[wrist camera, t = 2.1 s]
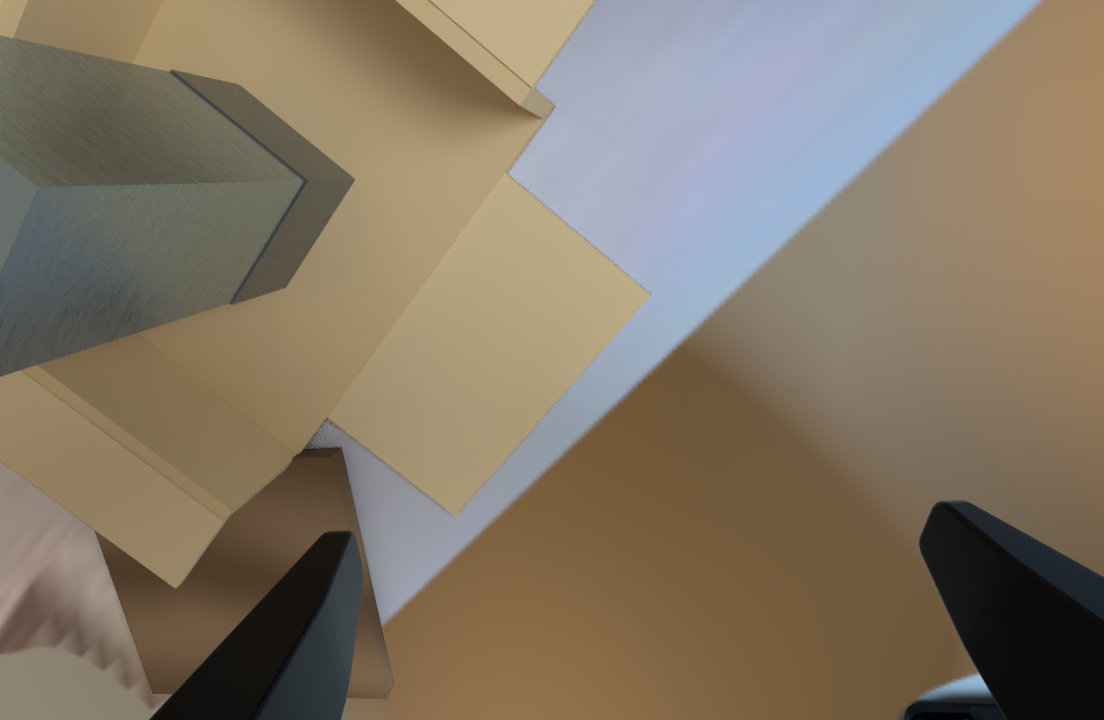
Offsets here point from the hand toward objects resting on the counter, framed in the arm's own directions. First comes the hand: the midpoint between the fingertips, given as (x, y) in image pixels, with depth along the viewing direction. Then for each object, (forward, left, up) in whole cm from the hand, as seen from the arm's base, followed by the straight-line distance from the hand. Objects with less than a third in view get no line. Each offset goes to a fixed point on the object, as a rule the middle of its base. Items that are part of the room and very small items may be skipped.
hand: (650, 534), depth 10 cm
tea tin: (+6, +12, -11) cm, 18 cm away
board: (-9, +17, -12) cm, 22 cm away
